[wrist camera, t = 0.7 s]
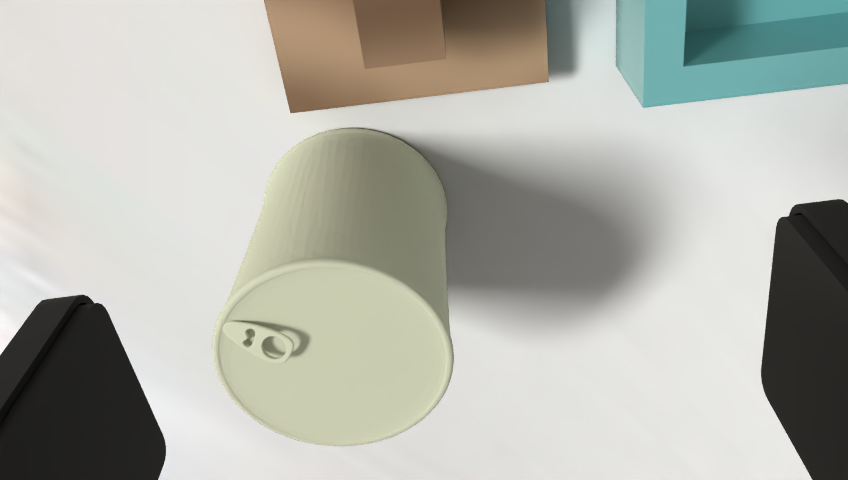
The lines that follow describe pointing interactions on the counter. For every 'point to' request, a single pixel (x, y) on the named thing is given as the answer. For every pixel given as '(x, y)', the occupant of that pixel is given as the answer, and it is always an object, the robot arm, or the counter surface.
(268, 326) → the can
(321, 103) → the lid
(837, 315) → the robot arm
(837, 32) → the dish
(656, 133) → the counter surface
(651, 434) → the counter surface
